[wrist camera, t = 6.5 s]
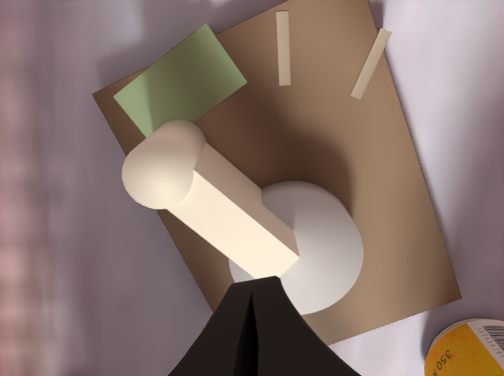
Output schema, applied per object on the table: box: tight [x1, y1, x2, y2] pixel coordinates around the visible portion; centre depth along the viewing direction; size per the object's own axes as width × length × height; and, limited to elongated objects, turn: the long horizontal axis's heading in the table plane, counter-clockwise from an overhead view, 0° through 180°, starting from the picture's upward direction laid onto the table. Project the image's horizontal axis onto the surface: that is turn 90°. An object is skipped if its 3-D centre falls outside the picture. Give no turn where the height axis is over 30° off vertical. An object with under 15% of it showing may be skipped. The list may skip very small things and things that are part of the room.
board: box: [92, 0, 462, 346], centre depth 20 cm, size 13×18×1 cm
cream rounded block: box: [122, 119, 364, 315], centre depth 17 cm, size 11×6×5 cm, turn 48°
